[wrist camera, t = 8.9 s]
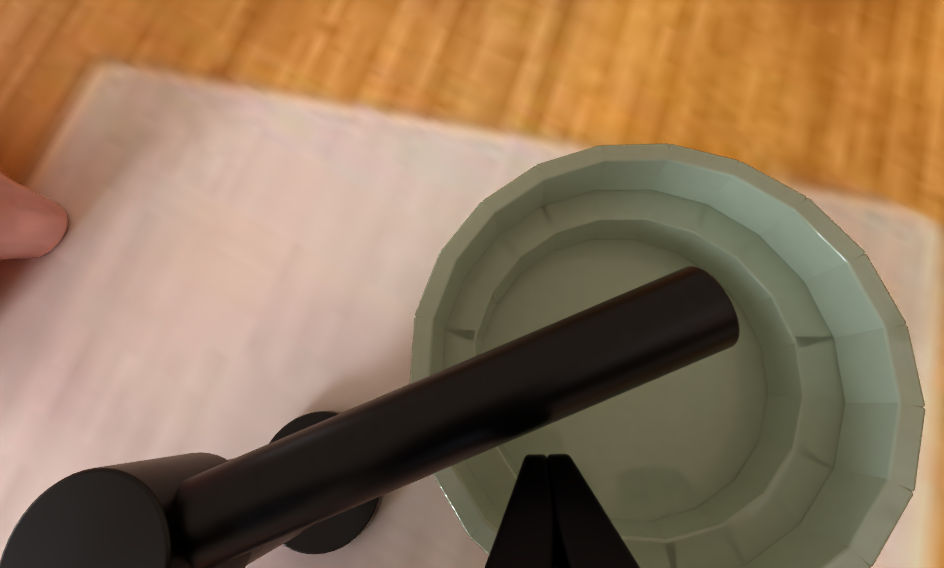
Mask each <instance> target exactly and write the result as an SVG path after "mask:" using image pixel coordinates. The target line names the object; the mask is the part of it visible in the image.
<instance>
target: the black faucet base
mask: <svg viewBox="0 0 944 568" xmlns="http://www.w3.org/2000/svg"><path fill="white" fill-rule="evenodd" d="M338 414H341V413H339V412H332V411H323V412H314V413H310V414H306V415H303V416H301V417H298V418H296V419H295V420H293V421H291V422H290V423H288V424H287V425H286V426H284V427H283V428H282V429H281V430H280V431H279V432H278V433H277V434H276V435H275V436H274V438H273V439H272V440H271V441H270V443H272V442H275V441H277V440H279V439H282V438H284V437H286V436H289V435H291V434H293V433H296V432H298V431H301V430H303V429H305V428H308V427H310V426H312V425H315V424H317V423H319V422H322V421H324V420H326V419H329V418H331V417H333V416H336V415H338ZM270 443H269V444H270ZM234 459H235V458H234ZM230 460H232V459H229V460H228V461H230ZM382 497H383V495H382V496H380V497H377V498H375V499H372V500H370V501H368V502H365V503H363V504H361V505H358V506H356V507H354V508H351V509H349V510H347V511H344V512H342V513H339V514H337V515H335V516H332V517H330V518H328V519H325V520H323V521H321V522H318V523H316V524H314V525H311V526H309V527H307V528H304V529H302V530H299V531H297V532H295V533H292V534H290V535H288V536H285V537H283V538H281V539H278V540H276V541H274V542H271V543H269V544H266V545H264V546H262V547H259V548H257V549H255V550H253V551H252V553H251V556H250V558H249V561H248V563H247V565H248V564H250V563H251V562H253V561H255V560H256V559H258V558H260V557H261V556H263V555H265V554H267V553H268V552H270V551H272V550H273V549H275V548H277V547H278V546H280V545H282V544H283V545H284V546H286V547H288V548H290V549H292V550H295V551H297V552H301V553H306V554H323V553H328V552H331V551H334V550H337V549H339V548H341V547H343V546H345V545H346V544H348V543H350V542H351V541H352V540H353V539H355V538H356V537H357V536H358V535H360V534H361V533H362V532H363V531H364V530H365V528H366V527H367V526H368V525H369V524H370V522H371V521H372V519H373V518H374V516H375V514H376V512H377V510H378V508H379V506H380V503H381V500H382Z"/></svg>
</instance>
